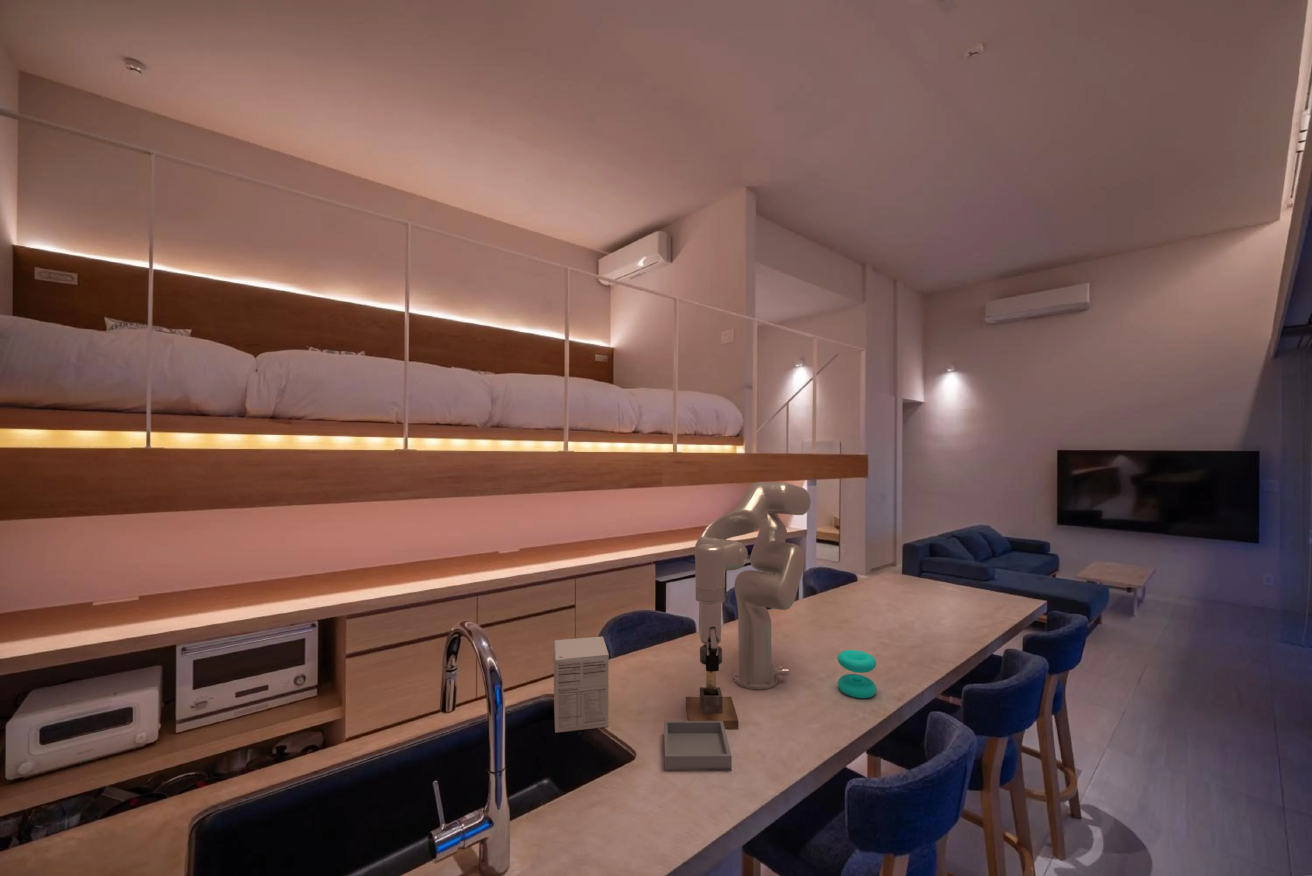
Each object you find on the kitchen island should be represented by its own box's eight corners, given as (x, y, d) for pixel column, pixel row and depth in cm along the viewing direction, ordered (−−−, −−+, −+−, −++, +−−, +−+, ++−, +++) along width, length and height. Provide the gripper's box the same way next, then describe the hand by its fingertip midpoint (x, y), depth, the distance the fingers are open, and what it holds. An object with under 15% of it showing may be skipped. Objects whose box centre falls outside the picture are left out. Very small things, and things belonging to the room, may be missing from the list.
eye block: (731, 704, 136) (731, 681, 136) (738, 729, 124) (738, 703, 124) (685, 704, 136) (685, 681, 136) (688, 729, 124) (688, 704, 124)
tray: (723, 733, 122) (722, 720, 122) (731, 770, 108) (731, 756, 108) (664, 733, 122) (664, 721, 122) (665, 770, 108) (664, 756, 108)
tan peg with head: (699, 695, 133) (698, 644, 133) (720, 695, 133) (720, 644, 133) (701, 706, 127) (700, 653, 127) (723, 706, 127) (723, 653, 127)
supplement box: (609, 727, 125) (609, 654, 125) (554, 734, 122) (554, 659, 122) (603, 701, 137) (603, 635, 138) (553, 706, 135) (553, 639, 135)
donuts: (866, 666, 136) (831, 655, 143) (867, 704, 136) (831, 691, 143) (882, 655, 143) (847, 645, 150) (882, 691, 142) (847, 680, 150)
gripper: (693, 584, 139) (693, 652, 139) (698, 604, 122) (698, 681, 121) (721, 584, 139) (721, 651, 139) (729, 604, 122) (730, 680, 121)
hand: (710, 664), depth 130 cm, fingers closed on tan peg with head, 5 cm apart
